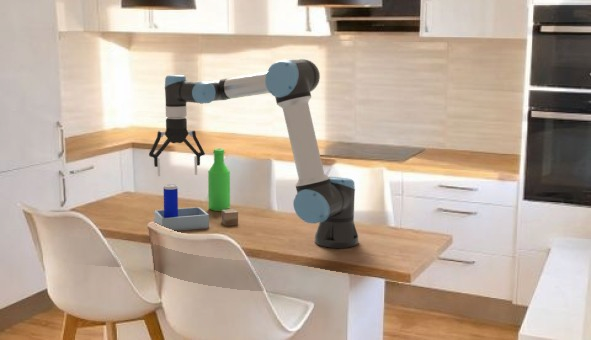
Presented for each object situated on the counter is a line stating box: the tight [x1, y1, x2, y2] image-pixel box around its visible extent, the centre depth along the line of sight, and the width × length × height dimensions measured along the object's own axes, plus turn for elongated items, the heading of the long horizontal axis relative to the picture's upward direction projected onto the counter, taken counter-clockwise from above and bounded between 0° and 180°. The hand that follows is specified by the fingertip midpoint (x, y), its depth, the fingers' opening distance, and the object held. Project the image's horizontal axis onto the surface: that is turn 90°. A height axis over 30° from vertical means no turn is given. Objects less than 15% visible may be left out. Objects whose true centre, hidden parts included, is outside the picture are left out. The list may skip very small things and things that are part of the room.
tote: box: [153, 206, 210, 232], centre depth 281 cm, size 14×18×5 cm
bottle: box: [207, 148, 231, 212], centre depth 306 cm, size 9×9×25 cm
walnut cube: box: [221, 208, 239, 227], centre depth 285 cm, size 5×5×5 cm
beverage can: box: [163, 183, 179, 218], centre depth 278 cm, size 5×5×15 cm
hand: (177, 174), depth 277 cm, fingers open, 13 cm apart
